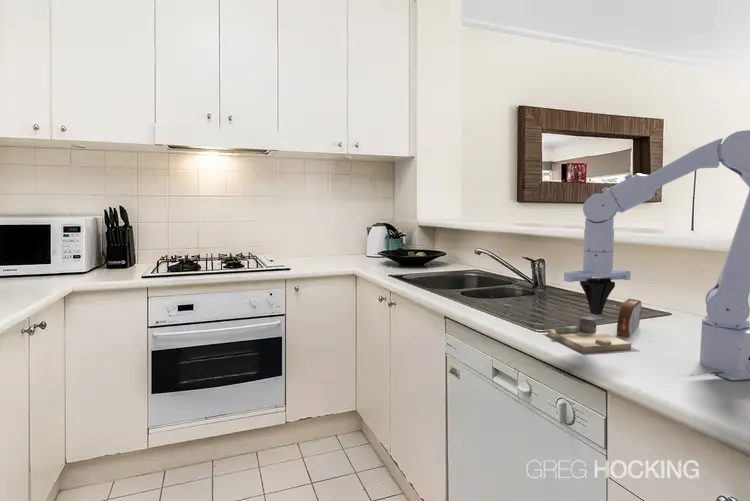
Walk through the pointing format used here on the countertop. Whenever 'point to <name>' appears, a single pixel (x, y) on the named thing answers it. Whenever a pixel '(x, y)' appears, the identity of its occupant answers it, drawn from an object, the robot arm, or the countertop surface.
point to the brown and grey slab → (628, 317)
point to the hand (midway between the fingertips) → (595, 313)
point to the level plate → (588, 337)
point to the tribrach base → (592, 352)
